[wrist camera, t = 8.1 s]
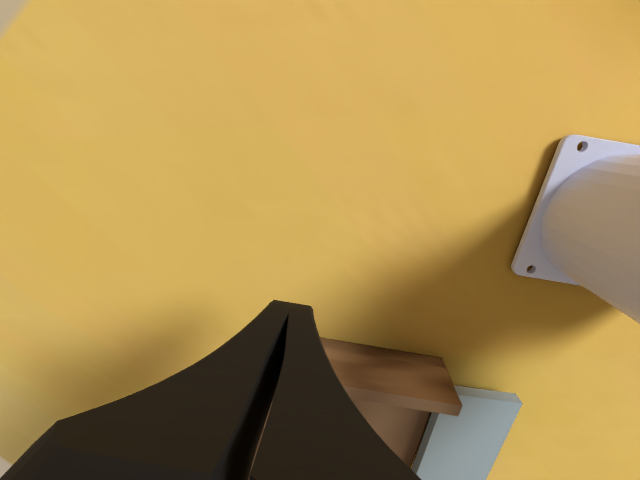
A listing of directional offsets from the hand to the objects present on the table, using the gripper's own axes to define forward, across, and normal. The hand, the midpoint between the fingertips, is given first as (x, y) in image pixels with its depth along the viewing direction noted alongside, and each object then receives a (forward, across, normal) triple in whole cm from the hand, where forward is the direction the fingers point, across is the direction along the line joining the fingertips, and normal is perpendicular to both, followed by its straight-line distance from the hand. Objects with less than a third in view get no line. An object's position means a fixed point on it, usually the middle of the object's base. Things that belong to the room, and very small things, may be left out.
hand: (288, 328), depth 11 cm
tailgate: (+8, -10, +12) cm, 18 cm away
